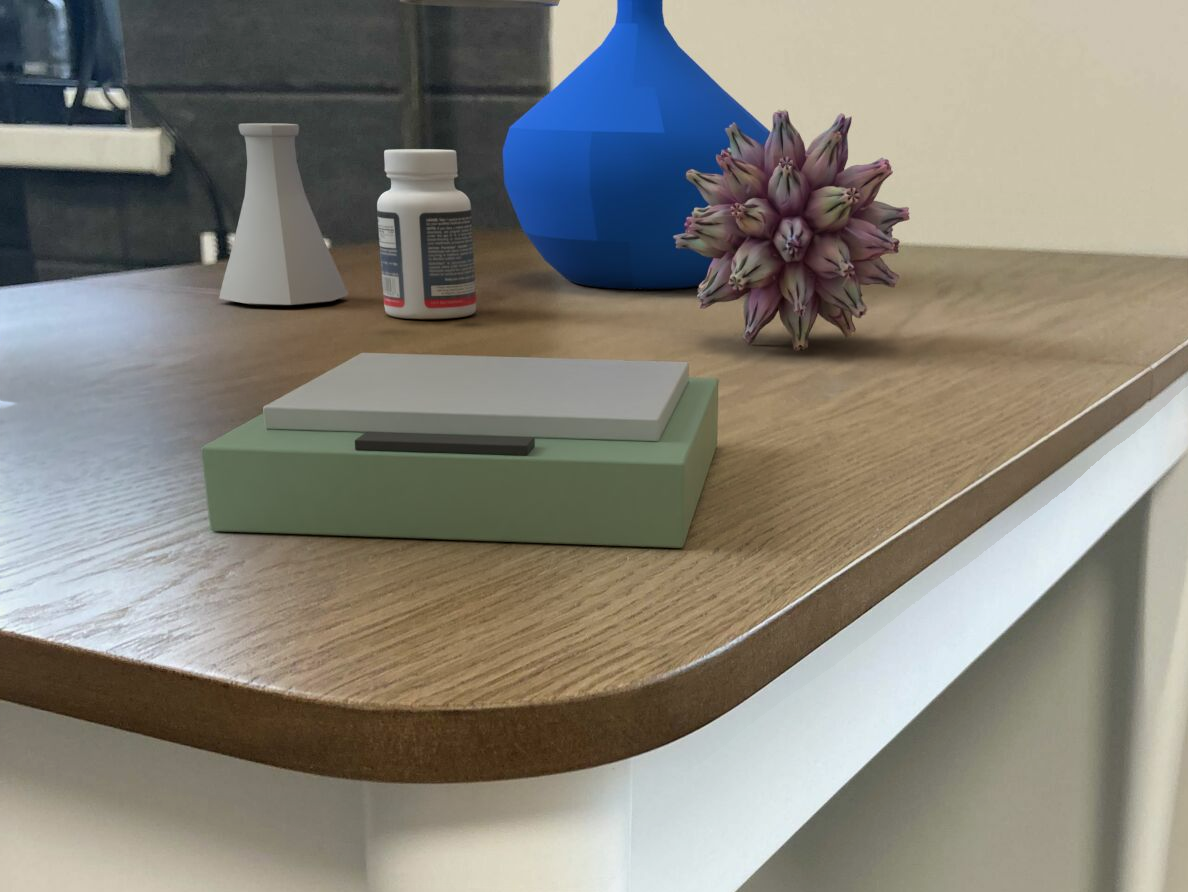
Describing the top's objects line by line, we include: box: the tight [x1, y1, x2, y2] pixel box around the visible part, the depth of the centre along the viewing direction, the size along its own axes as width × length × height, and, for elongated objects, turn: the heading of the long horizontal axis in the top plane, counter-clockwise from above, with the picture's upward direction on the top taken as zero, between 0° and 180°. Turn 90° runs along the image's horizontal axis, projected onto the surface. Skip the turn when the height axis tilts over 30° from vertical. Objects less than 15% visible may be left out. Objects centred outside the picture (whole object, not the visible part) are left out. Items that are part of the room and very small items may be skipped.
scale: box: [200, 352, 719, 549], centre depth 50 cm, size 14×14×3 cm
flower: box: [674, 109, 910, 352], centre depth 77 cm, size 12×12×12 cm
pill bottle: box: [376, 148, 477, 320], centre depth 86 cm, size 5×5×9 cm
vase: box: [502, 0, 771, 291], centre depth 101 cm, size 18×18×19 cm
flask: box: [218, 122, 349, 306], centre depth 90 cm, size 7×7×10 cm
